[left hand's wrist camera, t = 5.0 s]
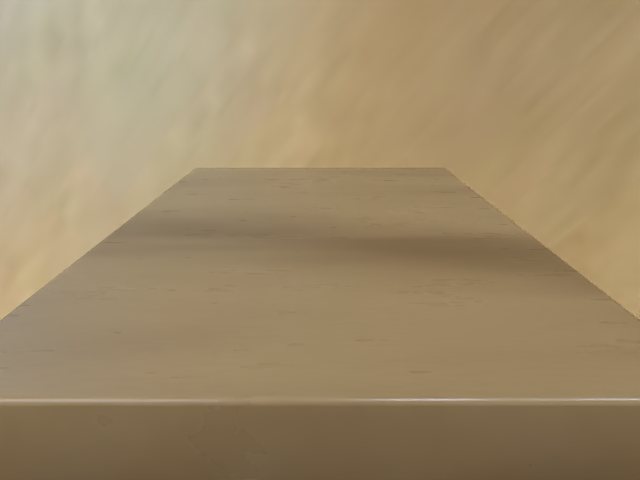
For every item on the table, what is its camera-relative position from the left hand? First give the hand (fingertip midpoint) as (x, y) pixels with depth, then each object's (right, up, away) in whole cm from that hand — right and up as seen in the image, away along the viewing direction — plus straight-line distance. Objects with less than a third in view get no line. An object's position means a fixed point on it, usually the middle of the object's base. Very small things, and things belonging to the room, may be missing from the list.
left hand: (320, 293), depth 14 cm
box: (0, -9, +5) cm, 10 cm away
